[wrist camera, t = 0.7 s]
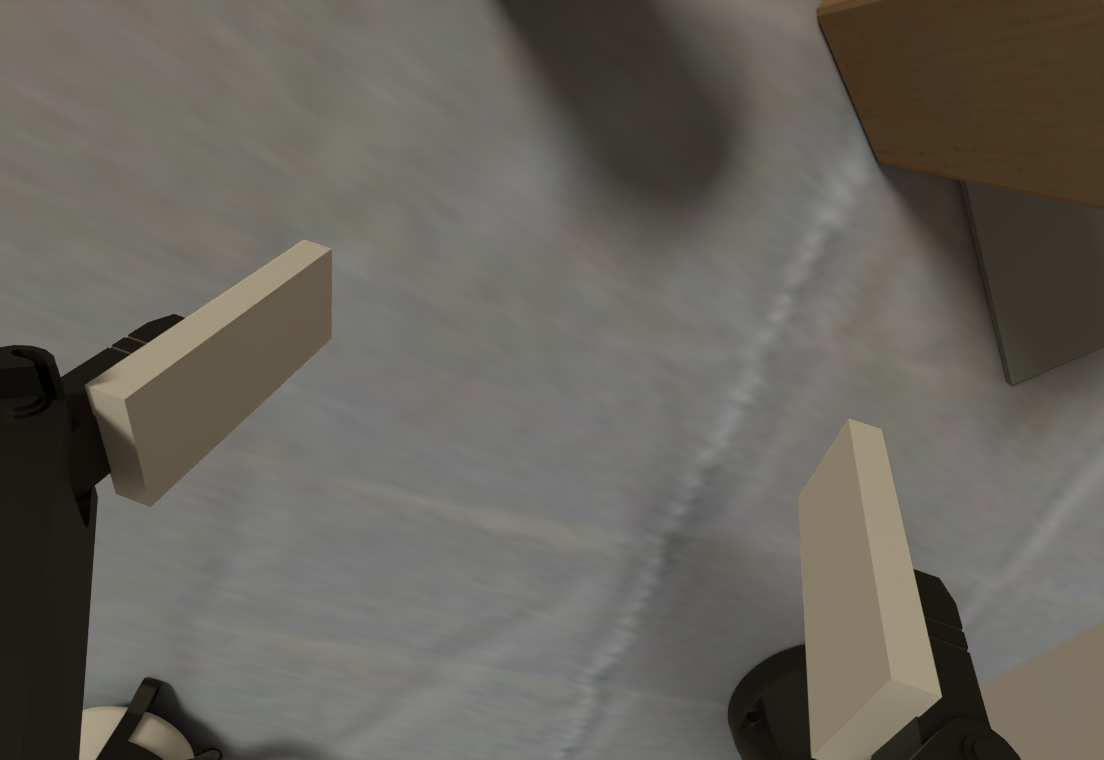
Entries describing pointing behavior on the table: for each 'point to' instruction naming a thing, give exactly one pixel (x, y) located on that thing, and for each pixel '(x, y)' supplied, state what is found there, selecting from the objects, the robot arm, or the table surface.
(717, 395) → the table surface
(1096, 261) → the mat
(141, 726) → the coffee press
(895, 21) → the wooden block
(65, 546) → the robot arm
